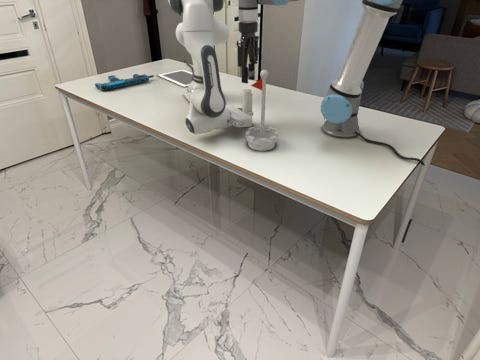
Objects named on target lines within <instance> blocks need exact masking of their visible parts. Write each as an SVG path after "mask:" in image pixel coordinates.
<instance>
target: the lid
mask: <svg viewBox="0 0 480 360" xmlns="http://www.w3.org/2000/svg"><path fill="white" fill-rule="evenodd" d="M252 76H254V70H253V69H248V77H252Z"/></svg>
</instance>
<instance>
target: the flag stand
mask: <svg viewBox="0 0 480 360" xmlns="http://www.w3.org/2000/svg"><path fill="white" fill-rule="evenodd" d="M259 75H260V79H259V80H257V81H256V82H253V84H251V85H250V86H251V87H253V88H256V89H258V90H260V91H261V95H260V97H261V98H260V99H261V100H260V125H258V128H255V127H254V126H250V127H248V130H246V131H245V140H246V141H247V145H248V147H249V148H250V149H252V150H254V151H259V152H260V151H261V152H263V151H264V152H265V151H270V150H272V149H274V148H275V147H276V143H277V142H278V140H279V131H278V130H276V128H274V127H272V126H270V127H268V128H266V127H265V121H266V119H265V118H266V95H267V94H266V93H267V92H266V91H267V78H268V77H269V71H268V70H266V69H262V70H261V71H260V74H259Z"/></svg>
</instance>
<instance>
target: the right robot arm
mask: <svg viewBox="0 0 480 360" xmlns="http://www.w3.org/2000/svg"><path fill="white" fill-rule="evenodd" d="M297 1H299V0H238V1H237V3H238V12H237V13H238V21H239V22H238V32H239V33H240V35H241V36H240V40H237V41H236V47H237V67H239V68H240V72H241V73H240V74H241V83H242V84H249V80H251V81H255V79H256V77H255V76H256V70H255V69H256V65H257V64H258V61H259V41H260V36H259V35H256V33H258V31H259V22H258V20H259V6H260V5H264V6H265V5H266V6H267V5H268V6H277V7H279V6H287V5H288V4H289V2H297ZM403 1H404V0H362V1H361V5H362V8H363V11H362V14H361V16H360V19H359V20H358V24H357V27H356V29H355V32H354V35H353V37H352V39H351V42H350V44H349V47H348V49H347V52H346V55H345V57H344V60H343V62H342V65H341V67H340V71H339V73H338V76H337V77H336V78H334V79H333V80H331V82H330V85H329V87H328V90H327V93H326V95H325V97H324V98H323V99H322V101H321V103H320V113H321V115H322V116H323V121H324V123H323V126H322V130H323V132H324V133H325V134H326V135H329V136H332V137H335V138H339V139H341V138H342V139H349V138H354V137H356V136H358V137H360V138H361V139H362V140H363V141H365V142H367V143H372V144H376V145H381V146H385V147H388V148H390V149H391V150H392V151H393V153H394V154H395V155H396V157H398V158H401V159H403V160H407V161H416V162H418V163H419V164H420V165H421V166H426V164H425V163H424V161H423V160H422V159H420V158H417V157H410V156H409V157H408V156H404V155H402V154H401V153H400V152H398V151H397V149H396V148H395V147H394V146H393V145H391V144H390V143H387V142H382V141H377V140H372V139H369V138H366V137H364V136H363V135H362V134H361V133H359V132H360V125H359V118H358V117H359V116H358V114H359V111H360V110H359V109H360V105H361V99H362V95H363V90H364V84H365V82H364V80H363V79H364V77H365V75H366V72H367V71H368V69H369V66H370V63H371V61H372V59H373V57H374V54H375V53H376V51H377V50H376V49H377V47H378V46H379V44H380V41H381V39H382V37H383V35H384V32H385V29H386V27H387V24H388V22H389V20H390V18H391V17H393V16H395V15H397V14H398V12H399V9H400V7H401V6H402V3H403ZM248 61H249V63H248ZM248 69H253V70H254V76H252V77H248ZM412 222H413V218H411V219H409V220H408V222H407V225H406V228H405V230H404V233H403V236H402V239H401V243H402V244H404V243H405V241H406V237H407V235H408V232H409V229H410V226H411V224H412Z"/></svg>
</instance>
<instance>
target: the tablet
mask: <svg viewBox="0 0 480 360" xmlns="http://www.w3.org/2000/svg"><path fill="white" fill-rule="evenodd" d="M192 74H193V72H192V71H188V70H186V69H179V70H174V71H170V72H164V73H160V74H157V75H156V76H157V77H159V78H162V79H165V80H167V81H169V82H171V83H174V84H176V85H178V86H180V87H181V88H182V87H183V88H188V85H189V84H190V83H191V82H192Z"/></svg>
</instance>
